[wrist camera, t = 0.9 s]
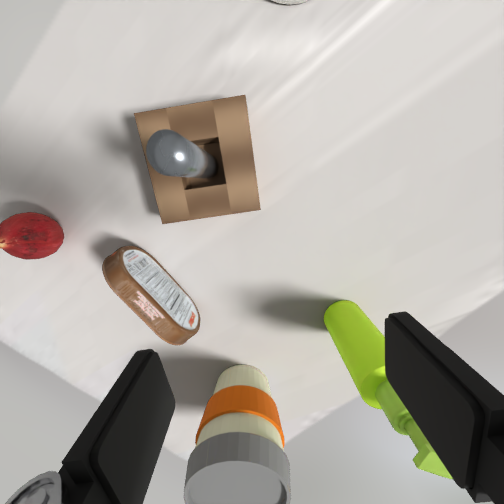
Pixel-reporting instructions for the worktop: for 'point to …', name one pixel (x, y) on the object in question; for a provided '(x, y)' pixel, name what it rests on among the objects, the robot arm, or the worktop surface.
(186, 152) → the metal rod
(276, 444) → the reusable coffee cup
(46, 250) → the onion
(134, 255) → the tin
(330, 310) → the soap dispenser
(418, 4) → the worktop surface
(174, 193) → the rod stand
